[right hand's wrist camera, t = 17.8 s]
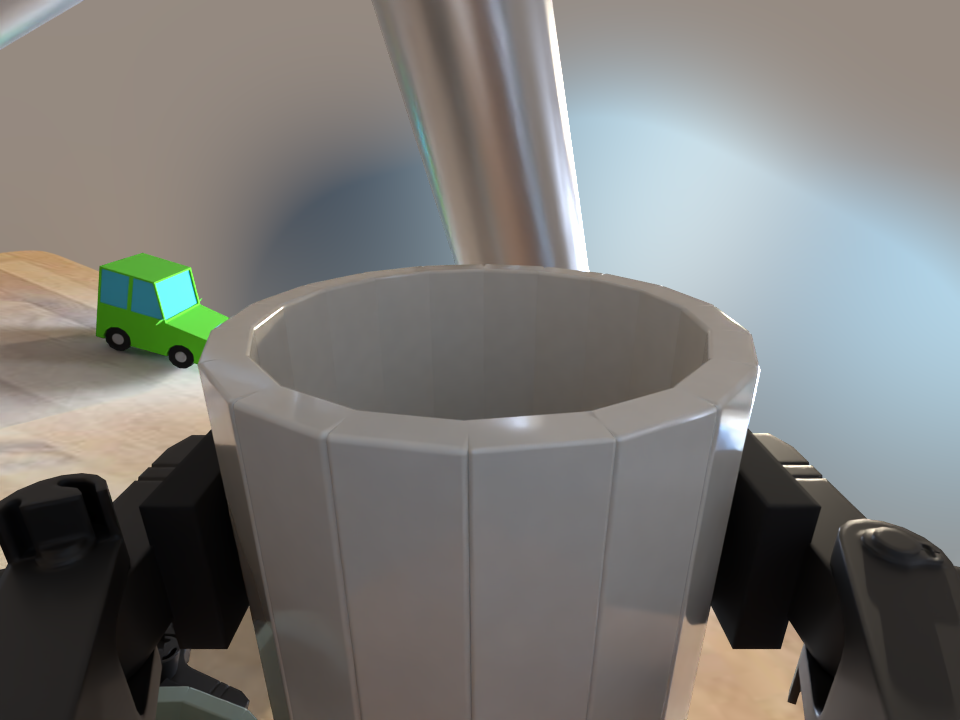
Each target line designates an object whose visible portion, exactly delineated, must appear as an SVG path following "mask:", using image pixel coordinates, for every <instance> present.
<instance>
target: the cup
mask: <svg viewBox="0 0 960 720" xmlns="http://www.w3.org/2000/svg"><path fill="white" fill-rule="evenodd" d="M198 368H199V373H200V378H201V382H202V387H203V392H204V396H205V401H206V406H207V410H208V415H209V420H210V424H211V429H212V434H213V438H214V443H215V448H216V452H217V457H218V462H219V466H220V471H221V476H222V480H223V485H224V490H225V494H226V499H227V504H228V508H229V513H230V518H231V522H232V527H233V532H234V536H235V541H236V546H237V550H238V555H239V560H240V564H241V569H242V574H243V578H244V583H245V588H246V592H247V597H248V602H249V606H250V611H251V616H252V620H253V625H254V630H255V634H256V639H257V644H258V648H259V653H260V658H261V662H262V667H263V672H264V676H265V681H266V686H267V690H268V695H269V700H270V704H271V709H272V714H273V718H274V720H687V717H688V712H689V707H690V703H691V698H692V693H693V688H694V683H695V679H696V674H697V669H698V664H699V660H700V655H701V650H702V645H703V640H704V636H705V631H706V626H707V621H708V616H709V612H710V607H711V602H712V597H713V592H714V588H715V583H716V578H717V573H718V568H719V564H720V559H721V554H722V549H723V544H724V540H725V535H726V530H727V525H728V520H729V516H730V511H731V506H732V501H733V496H734V492H735V487H736V482H737V477H738V472H739V468H740V463H741V458H742V453H743V448H744V444H745V439H746V434H747V429H748V425H749V420H750V415H751V410H752V405H753V401H754V396H755V391H756V386H757V381H758V377H759V371H760V368H759V364H758V360H757V355H756V351H755V347H754V343H753V338H752V335H751V334H750V333H749V331H748V330H746V329H745V328H744V327H742V326H741V325H740V324H738V323H737V322H735V321H734V320H733V319H731V318H730V317H729V316H727V315H726V314H725V313H723V312H722V311H721V310H719V309H718V308H716V307H714V305H712V304H709V303H707V302H704V301H701V300H699V299H696V298H693V297H691V296H688V295H685V294H683V293H680V292H677V291H675V290H672V289H669V288H667V287H664V286H663V287H662V286H660V285H656V284H651V283H647V282H642V281H638V280H633V279H628V278H624V277H619V276H615V275H610V274H602V273H596V272H587V271H579V270H570V269H562V268H553V267H545V268H544V267H542V266H521V265H495V264H486V265H483V264H468V265H439V266H424V267H422V266H418V267H409V268H400V269H391V270H382V271H373V272H365V273H363V274H361V273H360V274H355V275H350V276H345V277H340V278H336V279H331V280H326V281H321V282H316V283H312V284H308V285H306V286H301V287H298V288H295V289H292V290H289V291H286V292H283V293H281V294H278V295H275V296H272V297H269V298H266V299H264V300H261V301H258V302H255V303H254V304H251V305H249V306H247V307H246V308H244V309H243V310H241V311H240V312H238V313H237V314H235V315H234V316H232V317H231V318H229V319H228V320H226V321H225V322H223V323H222V324H220V325H219V326H217V327H216V328H214V329H213V330H211V332H210V334H209V337H208V339H207V342H206V344H205V347H204V349H203V352H202V354H201V357H200V359H199V362H198Z"/></svg>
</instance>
